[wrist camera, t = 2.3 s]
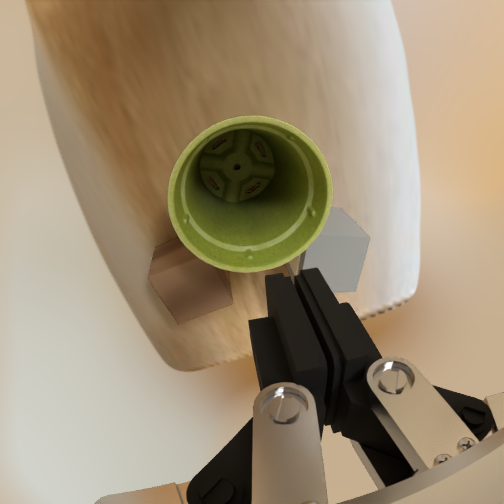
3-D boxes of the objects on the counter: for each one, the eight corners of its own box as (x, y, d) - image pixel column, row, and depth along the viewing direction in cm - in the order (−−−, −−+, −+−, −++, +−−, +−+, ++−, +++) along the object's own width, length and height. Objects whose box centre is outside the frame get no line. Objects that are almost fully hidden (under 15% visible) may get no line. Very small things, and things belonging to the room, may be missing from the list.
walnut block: (155, 247, 28) (147, 278, 23) (206, 225, 28) (207, 253, 23) (180, 289, 30) (177, 323, 26) (228, 270, 30) (233, 303, 26)
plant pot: (249, 83, 22) (272, 81, 15) (315, 174, 27) (359, 213, 19) (155, 157, 24) (132, 191, 16) (228, 238, 28) (238, 298, 21)
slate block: (287, 205, 28) (307, 235, 22) (341, 207, 28) (370, 236, 23) (280, 255, 30) (296, 293, 25) (331, 256, 31) (355, 291, 26)
